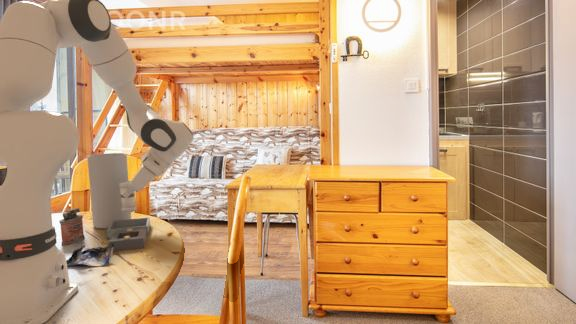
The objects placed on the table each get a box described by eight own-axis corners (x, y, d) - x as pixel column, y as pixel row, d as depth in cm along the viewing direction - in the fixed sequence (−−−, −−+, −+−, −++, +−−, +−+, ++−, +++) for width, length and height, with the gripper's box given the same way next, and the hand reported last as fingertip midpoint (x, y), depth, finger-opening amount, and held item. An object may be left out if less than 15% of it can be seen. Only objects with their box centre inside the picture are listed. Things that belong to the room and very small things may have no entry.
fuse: (135, 211, 126) (133, 182, 125) (120, 213, 125) (118, 184, 124) (136, 208, 131) (134, 180, 129) (122, 209, 129) (119, 181, 128)
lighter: (68, 245, 116) (65, 213, 115) (58, 245, 116) (55, 212, 115) (87, 237, 124) (84, 206, 122) (78, 237, 124) (75, 206, 123)
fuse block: (144, 248, 112) (143, 236, 111) (110, 251, 109) (109, 239, 109) (146, 238, 121) (145, 226, 121) (115, 241, 119) (114, 230, 118)
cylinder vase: (136, 224, 138) (131, 154, 135) (99, 231, 130) (93, 157, 127) (124, 218, 147) (119, 152, 145) (88, 224, 139) (82, 155, 136)
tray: (148, 235, 124) (147, 226, 124) (107, 239, 121) (106, 230, 121) (150, 225, 136) (149, 217, 135) (113, 229, 132) (112, 220, 132)
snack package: (71, 277, 93) (120, 262, 101) (67, 251, 93) (116, 238, 101) (58, 273, 101) (104, 259, 110) (53, 249, 101) (100, 237, 110)
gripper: (148, 154, 137) (121, 183, 136) (145, 160, 118) (113, 194, 116) (162, 166, 139) (135, 195, 138) (161, 173, 120) (130, 207, 118)
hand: (125, 194), depth 127 cm, fingers closed on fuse, 4 cm apart
